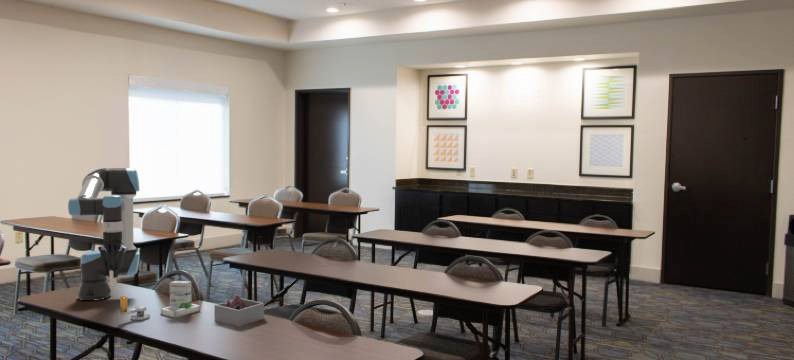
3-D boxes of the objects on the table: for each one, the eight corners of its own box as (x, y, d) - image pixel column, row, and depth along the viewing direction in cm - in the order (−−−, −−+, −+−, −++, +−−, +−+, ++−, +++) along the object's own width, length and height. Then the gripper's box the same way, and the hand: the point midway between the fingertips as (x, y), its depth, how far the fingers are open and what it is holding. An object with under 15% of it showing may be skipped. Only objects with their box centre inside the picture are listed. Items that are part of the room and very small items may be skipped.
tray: (160, 314, 280) (160, 308, 280) (186, 307, 292) (186, 302, 292) (174, 317, 275) (174, 312, 275) (200, 310, 287) (200, 305, 286)
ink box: (192, 306, 285) (192, 280, 285) (187, 308, 280) (187, 283, 280) (174, 305, 286) (174, 280, 285) (169, 308, 281) (169, 282, 281)
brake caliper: (239, 319, 266) (226, 295, 269) (224, 331, 270) (212, 307, 273) (257, 313, 276) (244, 290, 279) (242, 325, 280) (230, 302, 283)
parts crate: (214, 320, 272) (214, 305, 271) (240, 312, 284) (240, 298, 284) (238, 326, 264) (238, 310, 263) (263, 318, 276) (263, 303, 276)
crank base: (126, 318, 273) (126, 311, 272) (142, 314, 279) (142, 307, 279) (137, 321, 268) (137, 314, 268) (153, 317, 275) (153, 310, 275)
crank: (141, 308, 277) (141, 291, 277) (148, 310, 274) (148, 293, 274) (117, 314, 267) (117, 297, 267) (124, 316, 264) (124, 298, 264)
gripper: (93, 231, 263) (94, 285, 264) (120, 232, 261) (121, 287, 262) (104, 229, 270) (105, 282, 272) (131, 230, 268) (132, 283, 270)
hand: (113, 284), depth 267 cm, fingers closed
